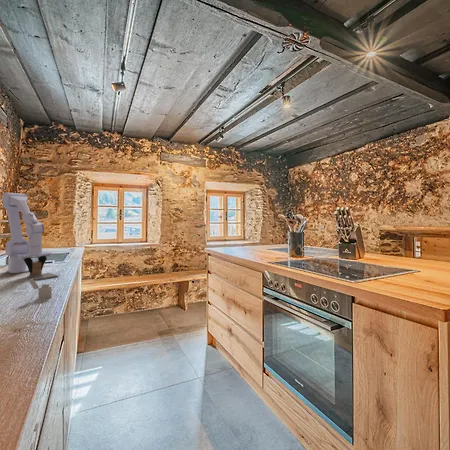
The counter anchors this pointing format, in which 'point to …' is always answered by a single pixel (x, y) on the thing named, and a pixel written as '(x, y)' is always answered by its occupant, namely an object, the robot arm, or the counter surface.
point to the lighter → (42, 289)
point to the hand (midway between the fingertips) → (35, 271)
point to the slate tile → (42, 276)
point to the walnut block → (36, 268)
